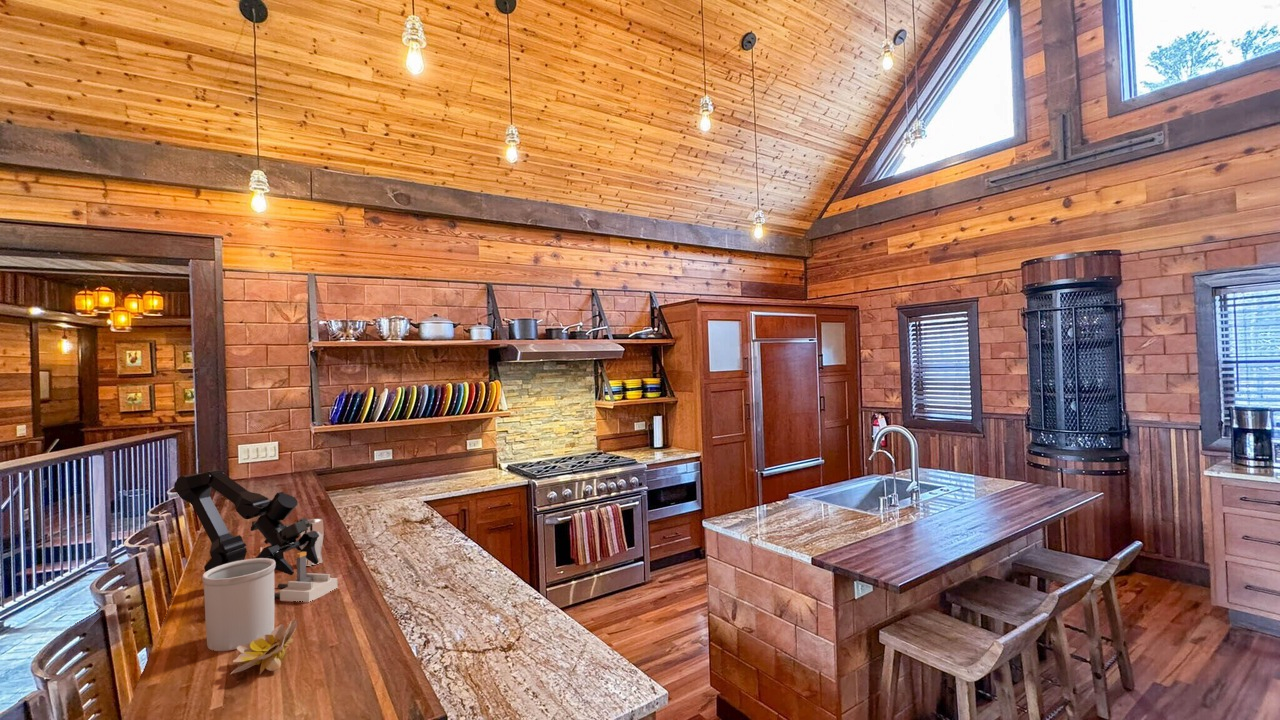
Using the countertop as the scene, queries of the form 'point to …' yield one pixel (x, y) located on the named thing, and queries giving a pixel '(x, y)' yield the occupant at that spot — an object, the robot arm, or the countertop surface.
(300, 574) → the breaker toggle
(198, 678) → the countertop surface
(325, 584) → the box
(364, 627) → the countertop surface
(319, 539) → the beer glass
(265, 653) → the decorative flower
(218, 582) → the utensil holder
